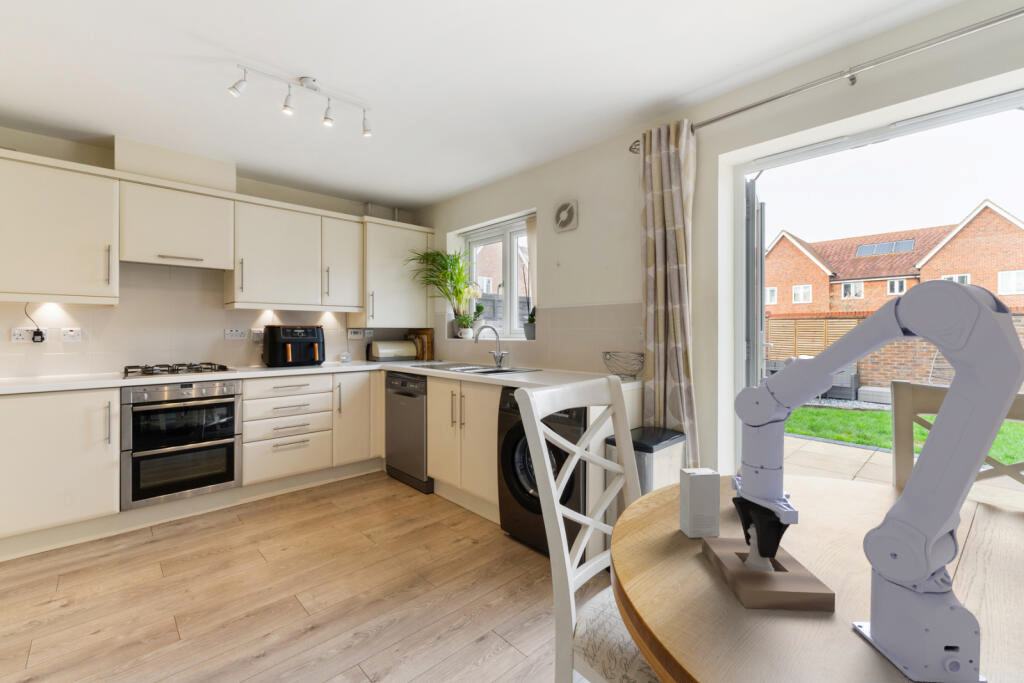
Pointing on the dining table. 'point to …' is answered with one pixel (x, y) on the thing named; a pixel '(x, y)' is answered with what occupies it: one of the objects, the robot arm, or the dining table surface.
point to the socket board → (767, 578)
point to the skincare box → (699, 502)
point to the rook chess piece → (756, 554)
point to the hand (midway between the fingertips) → (760, 550)
